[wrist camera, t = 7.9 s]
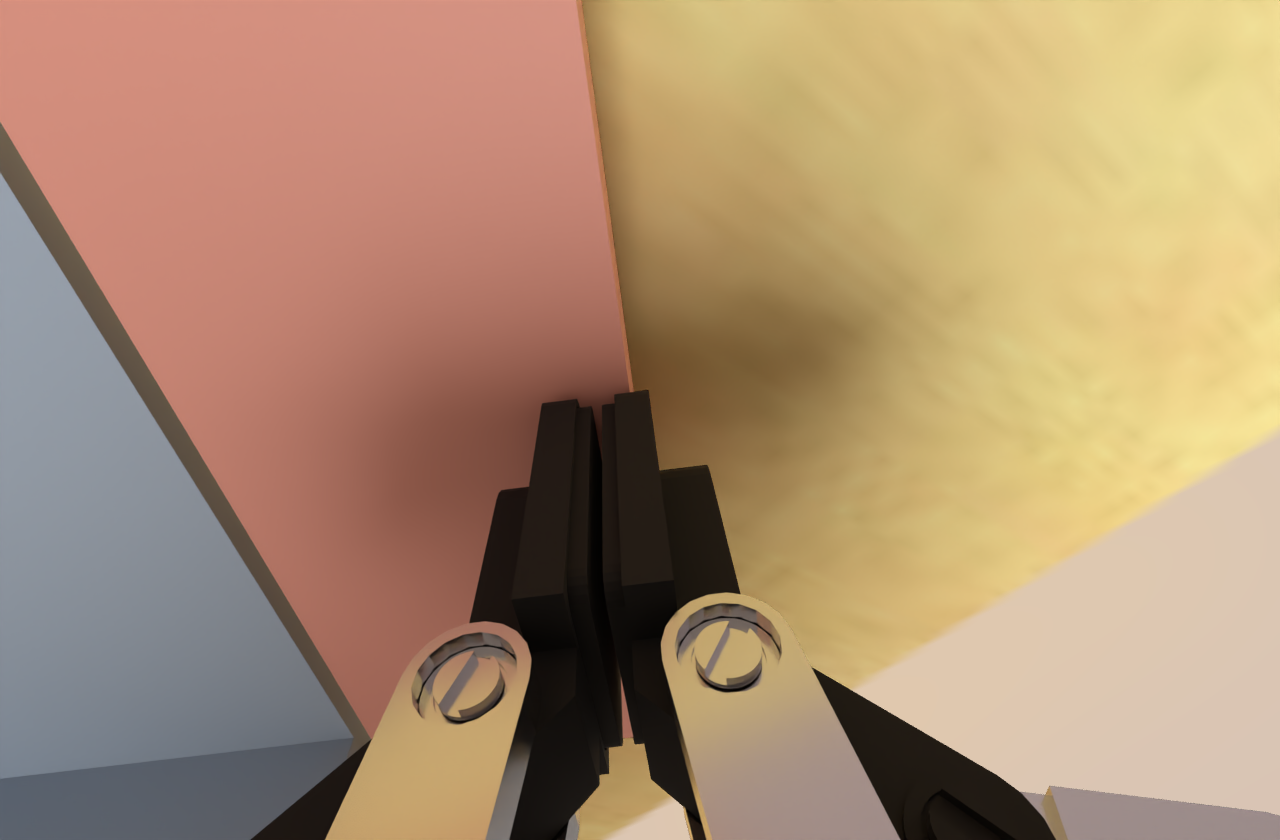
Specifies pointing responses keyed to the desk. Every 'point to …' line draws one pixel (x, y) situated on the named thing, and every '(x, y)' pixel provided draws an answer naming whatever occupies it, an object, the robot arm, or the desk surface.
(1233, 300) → the desk surface
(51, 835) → the tray
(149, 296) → the tailgate
